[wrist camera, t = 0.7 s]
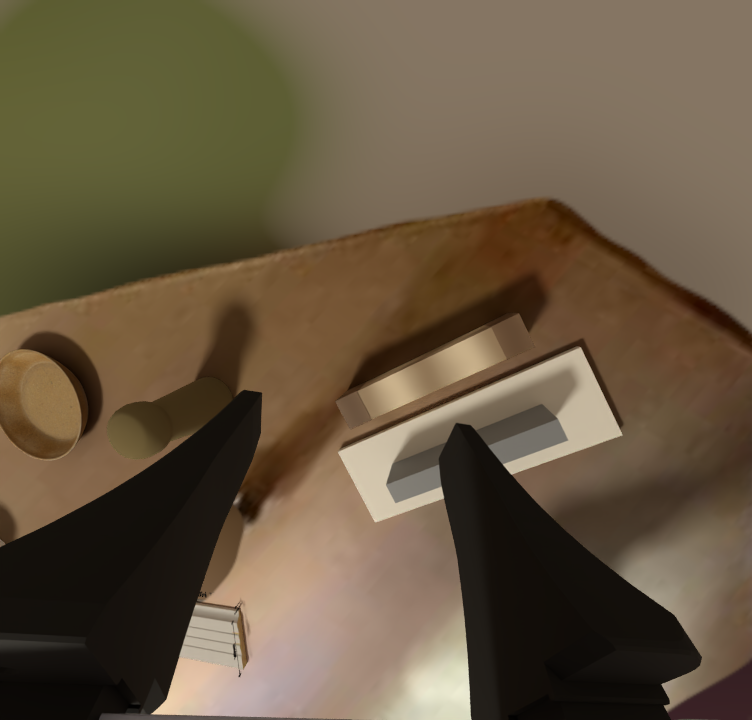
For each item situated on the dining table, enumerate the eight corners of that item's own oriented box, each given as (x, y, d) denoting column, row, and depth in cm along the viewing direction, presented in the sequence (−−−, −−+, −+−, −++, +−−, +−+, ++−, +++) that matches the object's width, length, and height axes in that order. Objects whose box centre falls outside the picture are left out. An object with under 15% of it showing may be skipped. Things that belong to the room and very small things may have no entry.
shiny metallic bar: (508, 312, 30) (519, 313, 26) (522, 341, 30) (535, 346, 26) (347, 390, 34) (335, 401, 30) (360, 415, 35) (350, 429, 31)
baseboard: (66, 570, 49) (78, 626, 50) (43, 585, 46) (57, 644, 48) (241, 595, 43) (250, 658, 44) (228, 615, 40) (237, 681, 41)
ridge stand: (617, 431, 30) (652, 455, 25) (376, 517, 36) (366, 550, 31) (577, 346, 29) (604, 353, 24) (339, 448, 36) (324, 470, 31)
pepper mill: (181, 385, 38) (83, 415, 28) (221, 369, 37) (133, 394, 26) (201, 431, 39) (111, 477, 28) (241, 417, 38) (162, 460, 27)
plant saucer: (-1, 360, 44) (-27, 363, 42) (78, 335, 41) (54, 336, 38) (38, 459, 46) (15, 468, 43) (117, 442, 42) (96, 451, 40)
